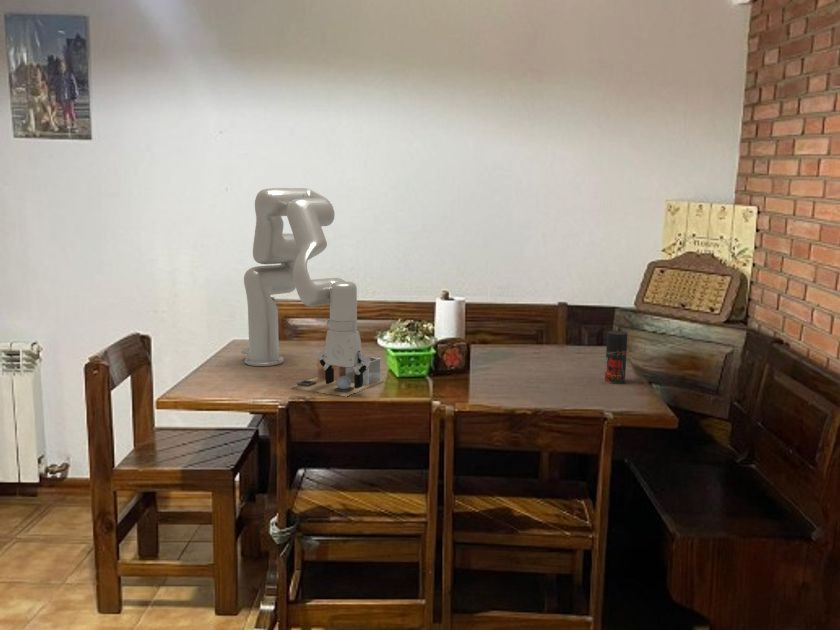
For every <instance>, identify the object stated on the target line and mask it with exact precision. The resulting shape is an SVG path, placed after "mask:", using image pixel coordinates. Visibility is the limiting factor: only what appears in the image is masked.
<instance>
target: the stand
mask: <svg viewBox="0 0 840 630" xmlns="http://www.w3.org/2000/svg"><path fill="white" fill-rule="evenodd" d="M324 357H325V356H324ZM367 357H368V358H370V359H371V362H370V365H369V366H368V369H367V370H366V371H365V372H364V373H363V384H362V387H360V388H355V387H354V375H355V374H356V372H355V371H354V369H353V368H345V367H338V366H333V367H332V368H333V369H334V382H332V383H329V384H326V379H325V370H324V369H323V366H322V365H321V363H320V360H319V358H318V357H317V376H316V377H313V378H311V379H308V380H307V379H305V380H302V381H299V382H296V384H294V385H291V386H290V387H291V390H292V389H293V390H298V391H306V392H312V393H316V392H319V393H318V394H323V393H326V394H325V395H329V394H334V395H333V396H335V395H343V396H348V395H351V394H353V393H356V392H358V393H360V392H362V390H363V391H365V390H367V389H370V388H372V387H375V386H376V385H379V384H381V383H384V379H382V358H380V357H379V358H378V357H371V356H367ZM363 364H364V361H362V362H361V365H362V366H363ZM341 376H347V377H349V378H350V380H351V386H350V387H349V388H348V389H346V390H343V389H340V388H339V387H338V386H337V380H338V378H339V377H341ZM364 389H365V390H364ZM359 391H360V392H359ZM356 394H357V393H356ZM353 395H354V394H353ZM351 396H352V395H351Z"/></svg>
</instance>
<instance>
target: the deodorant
mask: <svg viewBox="0 0 840 630" xmlns="http://www.w3.org/2000/svg"><path fill="white" fill-rule="evenodd" d="M605 349H606V350H605V351H606V353H605V370H604V371H605V372H604V382H606V383H609V384H613V385H621V384H624V383H625V382H626V369H627V353H628V351H627V350H628V332H626V331H622V330H609V331H607V332H606V348H605Z"/></svg>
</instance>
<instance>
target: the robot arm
mask: <svg viewBox="0 0 840 630" xmlns="http://www.w3.org/2000/svg"><path fill="white" fill-rule="evenodd" d="M254 209H255V211H254V212H255V218H256V219H255V220H256V221H255V230H254V237H253V243H252V244H253V245H252V257H253V259H254V261H255V263H258V264H261V265H259V266H258V265H257V266H253V267H251V268H248V269H247V270H246V271H245V273H244V276H243V285H244V289H245V293H246V300H247V301H246V302H247V321H248V324H247V325H248V326H247V327H248V346H244V347H242V349H241V351H240V353H241V355H246V357H245V358H244V363H245V364H246V365H248V366H252V367H253V366H254V367H270V366H277V365H280V364H282V363H284V361H285V360H284V359H285V358H284V356H281V355H280V350H279V345H280V344H279V339H280V337H279V310H278V306H277V304H276V302H275V301H274V299H273V298H272V296H274V295H282V294H290V293H292V292H294V291H295V290H296V291H297V295H298V297H299V299H300V301H301V302H302V304H303V305H305V306H307V307H319V306H327V305H328V306H329V319H328V320H327V321H326V325H327V326H329V329H328V330H327V332H326V337H325V345H324V349H323V350H322V351H320V352H318V353H317V359H318V358H319V360H320V363H321V365H322V366H323V369H324V370H325V379H326V384H329V383H332V382H334V369H333V368H332V367H333V366H338V367H345V368H353V369H354V371H355V372H356V374H355V375H354V387H355V388H360V387H362V384H363V373H364V372H365V371H366V370H367V369H368V366H369V365H370V362H371V359H370V358H368V357H369V356H367V355H365V354H364V353H362V351H363V350H362V341H361V336H360V331H359V330H358V304H357V303H358V296H357V292H358V289H357V285H356V283H354V282H353V281H346V280H344V279H342V278H341V277H331V278H330V277H329V278H326V277H325V278H317V279H311V276H310V274H309V272H308V261H309V260H310V259H312V258H315V257H316V256H318V255H320V254H321V253H322V252H323V251H325V250H326V249H327V246H328V242H327V239H326V237H325V233H324V230H323V228H322V227H327V226H330V225H332V224H333V222H334V220H335V209H334V206H333V204H332V203H331V201H330V200H329V199H327V198H326V197H325V196H323V195H321V194H320V193H317V191H314V190H312V189H309V188H304V187H303V188H302V187H301V188H300V187H298V188H297V187H293V188H292V187H290V188H289V187H288V188H287V187H275V188H264V189H260V191H259V192H258V193H257V194H256V196H255V200H254ZM283 217H287V220H288V223H289V227H290V230H291V232H292V233H286V232H285V233H284V226H285V225H284V220H283ZM324 356H325V357H324ZM362 361H364V364H363V366H362V365H361V362H362Z"/></svg>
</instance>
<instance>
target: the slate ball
mask: <svg viewBox="0 0 840 630" xmlns="http://www.w3.org/2000/svg"><path fill="white" fill-rule="evenodd" d="M337 386H338V387H339V388H340V389H343V390H346V389H348V388H349V387H350V386H351V380H350V378H349V377H347V376H341V377H339V378H338V380H337Z"/></svg>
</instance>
